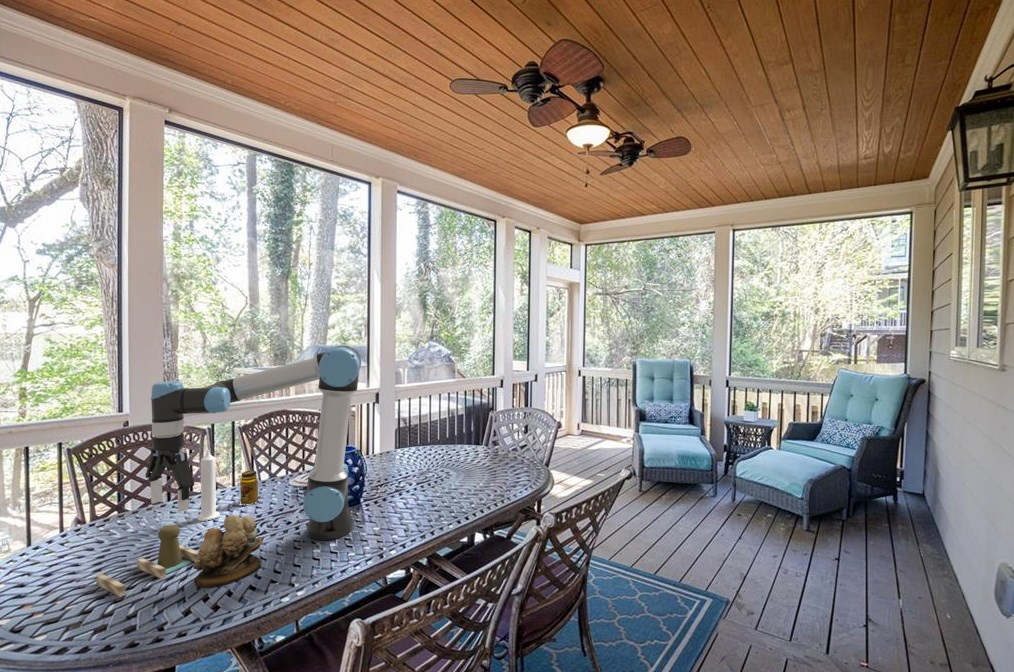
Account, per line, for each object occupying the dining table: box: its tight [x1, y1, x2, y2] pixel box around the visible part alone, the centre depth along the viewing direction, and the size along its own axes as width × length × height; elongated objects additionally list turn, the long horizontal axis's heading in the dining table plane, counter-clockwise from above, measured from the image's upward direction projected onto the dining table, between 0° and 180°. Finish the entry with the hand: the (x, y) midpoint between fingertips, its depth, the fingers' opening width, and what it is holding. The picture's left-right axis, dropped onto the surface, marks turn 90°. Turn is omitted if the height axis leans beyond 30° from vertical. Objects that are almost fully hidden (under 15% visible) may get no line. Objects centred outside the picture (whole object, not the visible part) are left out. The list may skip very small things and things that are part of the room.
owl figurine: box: [192, 514, 264, 589], centre depth 135 cm, size 18×12×17 cm, turn 142°
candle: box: [196, 449, 221, 522], centre depth 172 cm, size 7×7×25 cm
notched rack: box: [95, 544, 200, 598], centre depth 139 cm, size 12×30×2 cm, turn 154°
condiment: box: [239, 470, 262, 505], centre depth 188 cm, size 7×8×12 cm
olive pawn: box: [157, 524, 183, 568], centre depth 139 cm, size 6×6×11 cm
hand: (170, 506), depth 139 cm, fingers open, 13 cm apart
